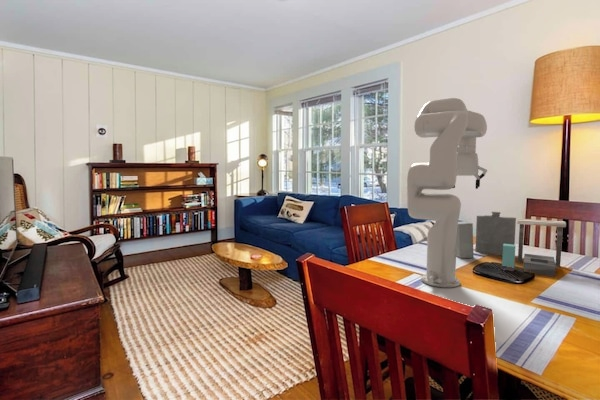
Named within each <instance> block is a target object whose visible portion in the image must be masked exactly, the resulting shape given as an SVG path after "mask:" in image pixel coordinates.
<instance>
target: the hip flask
mask: <svg viewBox="0 0 600 400" xmlns="http://www.w3.org/2000/svg"><path fill="white" fill-rule="evenodd" d="M500 215H501V211H491V215H489V214H488V215H476V222H475V223H476V226H475V227H476V229H475V249H474V250H475V251H474V252H475V253H479V254H486V255H487V254H488V255H495V256H503V244H513V245H515V246H516V243H515V242H516V240H515V239H516V223H517V218H516V217H509V216H500Z"/></svg>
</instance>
